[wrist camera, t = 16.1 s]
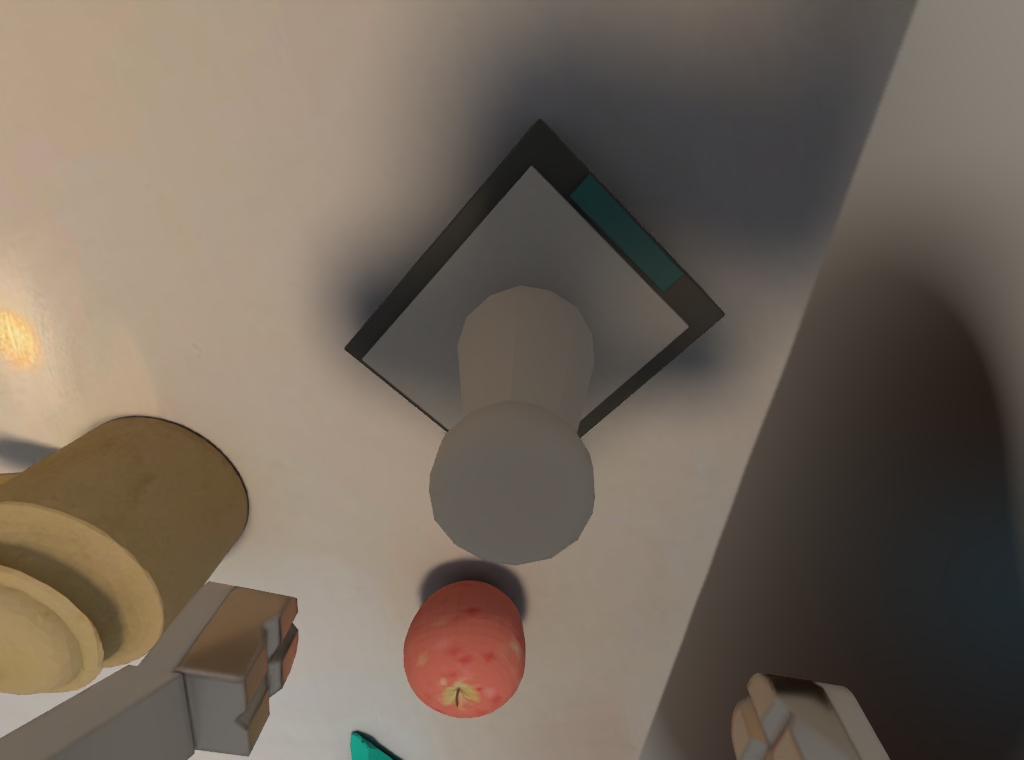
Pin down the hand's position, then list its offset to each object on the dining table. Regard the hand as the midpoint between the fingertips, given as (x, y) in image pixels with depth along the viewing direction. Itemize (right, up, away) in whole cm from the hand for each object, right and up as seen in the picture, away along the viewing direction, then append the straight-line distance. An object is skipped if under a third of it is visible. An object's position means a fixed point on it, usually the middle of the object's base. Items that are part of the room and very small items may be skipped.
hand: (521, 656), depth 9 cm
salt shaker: (+1, +7, +15) cm, 17 cm away
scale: (+1, +8, +18) cm, 20 cm away
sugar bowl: (-24, -2, +24) cm, 34 cm away
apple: (-3, -10, +26) cm, 28 cm away
